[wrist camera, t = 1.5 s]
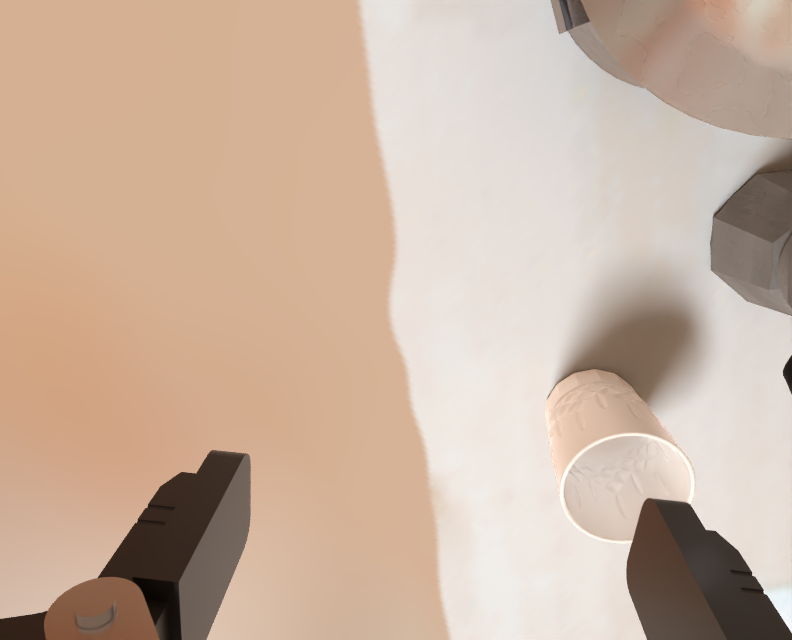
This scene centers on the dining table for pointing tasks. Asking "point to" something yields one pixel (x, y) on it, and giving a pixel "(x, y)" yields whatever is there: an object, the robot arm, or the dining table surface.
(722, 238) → the coffeepot
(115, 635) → the robot arm
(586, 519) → the white cup
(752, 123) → the lid
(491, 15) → the dining table surface
